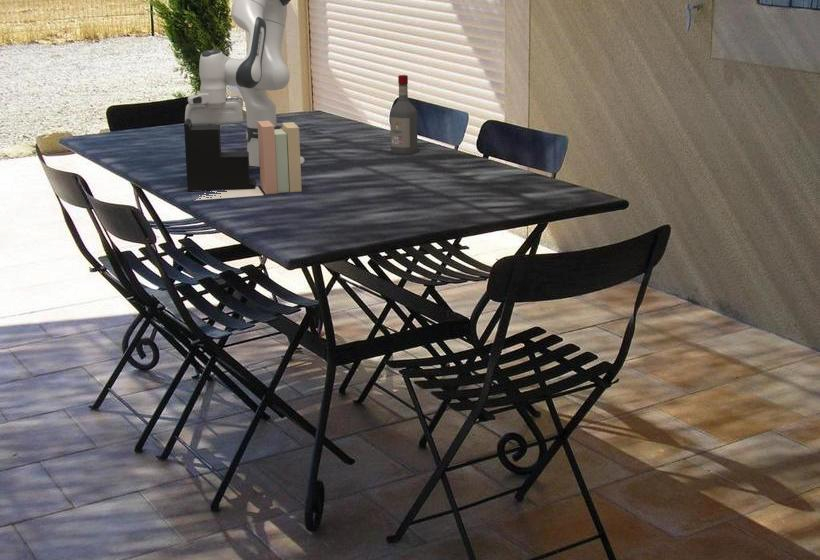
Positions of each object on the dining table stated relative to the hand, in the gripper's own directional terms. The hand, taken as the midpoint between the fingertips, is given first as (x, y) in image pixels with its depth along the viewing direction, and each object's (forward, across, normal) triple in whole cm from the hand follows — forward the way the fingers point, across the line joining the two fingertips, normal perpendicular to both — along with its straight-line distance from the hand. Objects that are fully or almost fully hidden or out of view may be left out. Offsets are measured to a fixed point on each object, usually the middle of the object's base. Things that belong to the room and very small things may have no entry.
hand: (215, 136), depth 429 cm
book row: (+16, -20, +20) cm, 32 cm away
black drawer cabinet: (+16, -1, +10) cm, 19 cm away
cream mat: (+16, -1, +20) cm, 26 cm away
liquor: (+14, -77, -28) cm, 83 cm away
